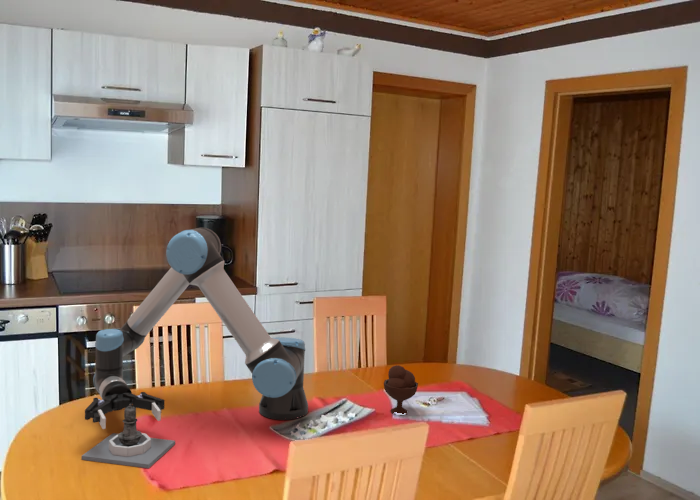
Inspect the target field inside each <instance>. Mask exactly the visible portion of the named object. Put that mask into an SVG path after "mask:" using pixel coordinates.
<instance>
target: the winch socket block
mask: <svg viewBox="0 0 700 500" xmlns="http://www.w3.org/2000/svg"><path fill="white" fill-rule="evenodd" d="M141 433H142V435H141V438H140V440H139V442H138V443H137V444H139V445H135V446H129V447H126V446H121V445H123V444H122V443H121V442H120V440H119V437H118V434H119V433H118V432H117V433H115V432H114V433H111V434H110V435H109V436H106V438H104V439H102V440H101V441H99V443H97V444H96V445H94V446H93V447H92V448H90V449H89V450H87V451H85V453H84V454H81V460H82V461H90V462H97V463H104V464H112V465H113V464H114V465H120V466H128V467H135V468H143V469H150V468H151V467H152V466H153V465H154V464H155V463H156V462H157V461H159V460H160V459H161V458H162V457H163V456H164V455H165V454H166V453H167V452H168V451H169V450H171V449H172V448H173V447H174V446H175V445H176V440H173V439H164V438H157V437H156V438H155V437H150V436H149V435H148V434H147V433H144V432H141Z"/></svg>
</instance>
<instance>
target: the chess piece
mask: <svg viewBox="0 0 700 500" xmlns="http://www.w3.org/2000/svg"><path fill="white" fill-rule="evenodd" d="M131 405H133V404H131V403H130V404H129V406H128V407H126V408H124V409H123V410H124V411H123V412H124V413H123V414H124V415H123V417H124V419H123V420H122V423H123V430H122V431H121V432H120V433H117V434H118V437H119V440H120V442H121V443H122V444H123V445H121V446H126V447H129V446H135V445H139V444H137V443H138V442H139V440H140V438H141V435H142V433H143V432H141V431H140V430H138V429H137V422H138V419H137V408H135V407H133V406H131Z"/></svg>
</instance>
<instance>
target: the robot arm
mask: <svg viewBox="0 0 700 500" xmlns="http://www.w3.org/2000/svg"><path fill="white" fill-rule="evenodd" d="M221 251H222V243H221V240H220V237H219V236H218V234H217V233H216V232H214V231H213V230H212V229H209V228H207V227H201V226H200V227H196V228H192V229H185V230H182V231H180V232H178V233H177V234H175V235H173V236H172V237H171V239H170V240H169V242H168V244H167V246H166V253H165V254H166V260H167V263H168V264H169V266H170V268H169V269H168V271H167V272H166V273H165V274H164V275H163V277H162V278H161V279H160V280H159V281H158V282H157V284H156V285H155V287H154V288H153V289H152V290H151V291H150V292H149V293H148V294H147V296H146V297H145V298H144V299H143V301H142V302H141V303H140V304H139V306H138V307H137V308H136V309H135V310H134V312H132V314H131V315H130V316H129V318H128V319H127V320H126V321H125V322H124V324H123V325H122V326H121V327H120V329H116V328H104V329H101V330H99V331H98V332H97V333H96V334H95V344H94V346H95V370H94V371H95V373H94V375H93V379H92V380H93V381H92V382H93V386H94V388H95V390H96V391H97V393H98V395H99V396H100V398H101V399H100V398H98V397H93V398H92V399H93V400H92V401H91V403H90V404H89V405H88V406H87V407H86V409H85V410H84V421H89V420H91V419H92V423H99V425H100V427H101V429H102V430H105V429H106V423H107V418H106V416H105V415H106V414H108V413H112V412H113V411H122V410H125V408H126V407H128V406H129V404H130V403H131V404H132V405H131V406H133V407H135V408H136V409H141V410H147V411H151V414H152V415H153V416H154V418H155V419H156V420H157V421H158V422H159V421H161V420H162V417H161V416H162V410H165V399H162V398H160V397H157V396H153V395H151V394H148V393H147V392H145V391H141V392H140V394H139V395H136V394H135V393H133V392H132V389H131V388H130V386H129V385H128V384H127V383H126V381H125V380H124V377H123V376H124V375H123V373H124V372H123V371H124V370H123V369H124V368H123V367H124V357H125V356H127V355H128V354H129V353H131V352H132V351H134V350H137V349H139V347H140V346H141V345H143V343H144V342H145V339H146V337H147V336H148V334H149V333H150V332H151V331H152V329H154V327H155V326H156V325H157V324H158V322H159V321H160V320H161V318H162V317H163V316H164V315H165V314H166V313H167V312H168V311H169V310H170V309H171V307H172V306H173V305H174V303H176V301H177V300H178V299H179V298H180V297H181V295H182V294H183V293H184V291H185V290H186V289H187V288H188V287H189V286H190V285H191V286H196V287H198V288H199V290H200V292H202V294H203V296H204V297H205V298H206V300H207V301H208V303H209V304H210V306H211V307H212V308H213V310H214V311H215V313H216V314H217V316H218V317H219V318H220V320H221V322H222V323H223V325H224V326H225V327H226V329H227V330H228V331H229V333H230V334H231V336H232V337H233V339H234V340H235V342H236V343H237V344H238V346H239V347H240V349H241V350H242V352H243V353H244V355H245V361H244V364H245V366H246V367H247V369H248V370H249V372H250V373H251V374H252V375H251V380H252V384H253V387H254V388H255V390H256V391H257V392H258V393H259V394H260V395H261V398H260V401H259V405H258V413H259V415H261V416H263V417H265V418H268V419H271V420H278V421H287V420H288V421H289V420H290V421H291V420H296V419H295V418H297V417H300V416H303V415H305V416H307V414H308V413H309V403H308V399H307V396H306V392H305V388H304V379H305V357H306V356H305V353H306V347H305V345H306V343H305V341H304V340H303V339H302V338H301V339H300V338H297V337H280V336H279V337H271V335H269V333H268V331H267V330H266V328H265V327H264V326H263V324H262V323H261V321H260V320H259V318H258V317H257V315H256V314H255V313H254V311H253V309H252V308H251V307H250V306H249V303H248V302H247V301H246V299H245V297H243V295H242V294H241V292H240V291H239V290H238V288H237V287H236V285H235V284H234V282H233V281H232V279H231V278H230V276H229V275H228V273H227V272H226V270H225V269H224V266H225V260H224V258H223V257H222V256H221ZM303 417H304V416H303ZM297 419H298V418H297Z"/></svg>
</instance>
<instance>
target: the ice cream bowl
mask: <svg viewBox="0 0 700 500" xmlns="http://www.w3.org/2000/svg"><path fill="white" fill-rule="evenodd" d="M388 370H389V371H388V379H384V381H383V387H384V391H385V393H386V394H387V396H389V397H391V399H394V400H395V401H396V406H395V407H393V408H391V410H390V413H391V414H392V415H394V414H393V413H394V412H397V413H402V414H404V413H407V411H408V410H407V409H405V408H404V407H403V403H404V401H407V400H409V399H411V398H412V397H414V396H415V395H416V393H417V390H418V387H419V382H417V381H416V378H415V375H414V373H413V372H411V371H410V370H408V369H405V368H404V367H403V366H401V365H397V364H396V365H393V366H391V367H390V368H389V369H388Z"/></svg>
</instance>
